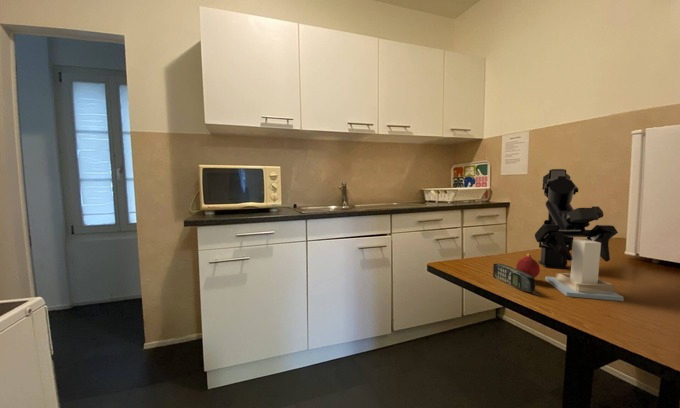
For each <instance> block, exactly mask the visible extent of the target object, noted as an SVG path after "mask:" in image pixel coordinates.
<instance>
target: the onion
mask: <svg viewBox="0 0 680 408" xmlns="http://www.w3.org/2000/svg"><path fill="white" fill-rule="evenodd" d="M515 269H517V270H520V271H523V272H525V273H527V274H529V275H531V276H533V277H534V279H535V278H536V277H537V276H538V275H539V274H540V271H541V270H540V269H541V268H540V265H539V262H538V261H537V260H535V259H534V258H533V257H532V256H531V254H530V253H527V254H526V255H525V256H524V257H522V258H520V259H519V260H518V261H517V262H516V268H515Z"/></svg>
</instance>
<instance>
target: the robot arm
mask: <svg viewBox="0 0 680 408" xmlns="http://www.w3.org/2000/svg"><path fill="white" fill-rule="evenodd" d="M541 189H542V191H543V195H544V196H545V197H546V199H547V200H546V201H545V207H546V209H547V212H548V213H547V214H548V215H547V219H545V220H544V221H543V224H542V225H541V226H540V227H539V228H538V230H537V231H536V232H535V233H534V238H535V241H536V242H537V243H538V248H539V249H540V248H541V250H540V260H538V261H537V263H538V264H541V265H542V266H544V267H545V268H552V269H554V268H555V269H569V267H568V261H569V262H572V253H571V252H570V251H572V249H573V239H574V238H586V239H588V240H592V241H596V242H600V243H601V250H600V259H603V261H605V262H610V260H611V256H610V250H609V248H610V247H609V241H610V240H611V239H613V237H614V236H615V235H617V234H618V233H619V232H618V230H617V229H616V227H615V226H614V225H611V224H610V225H609V224H596V225H595V226H594V227H592V228H591V229H586V228H588V227H589V226H590V225H591V223H590V222H593V221H598V220H600V219H602V218H603V217H604V212H603V210H602V208H600V206H594V205H592V206H591V207H577V208H575V209H574V208H573V206H572V204H571V202H572V201H573V197H574V196H575V195H576V194H577V193H579V188H578V186H576V184H575V183H574V182H573V180H572V179H571V176H570V175H569V174H568V173H567V169H565V168H551V169H548V173H547V174H546V175H544V176H543V177H542V188H541Z"/></svg>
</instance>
